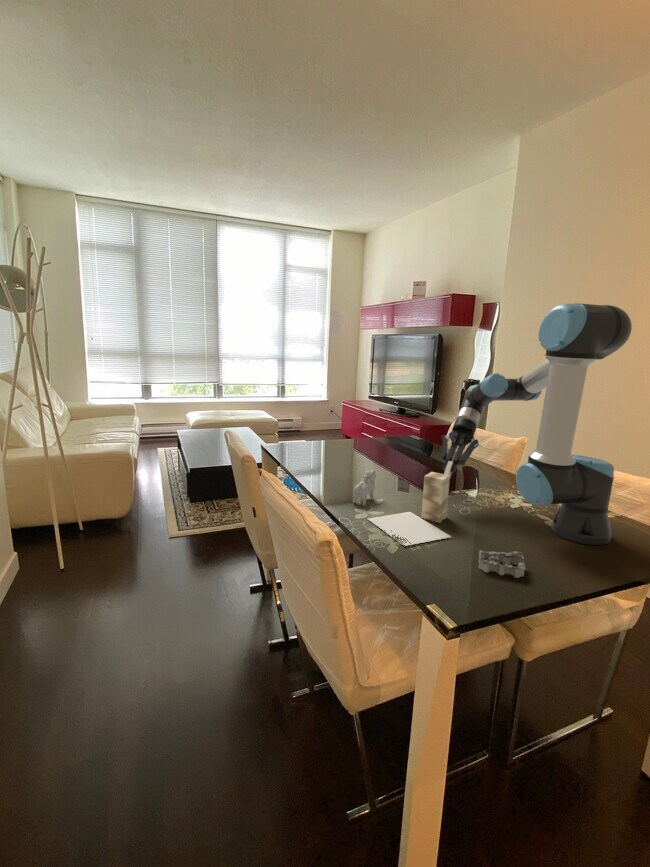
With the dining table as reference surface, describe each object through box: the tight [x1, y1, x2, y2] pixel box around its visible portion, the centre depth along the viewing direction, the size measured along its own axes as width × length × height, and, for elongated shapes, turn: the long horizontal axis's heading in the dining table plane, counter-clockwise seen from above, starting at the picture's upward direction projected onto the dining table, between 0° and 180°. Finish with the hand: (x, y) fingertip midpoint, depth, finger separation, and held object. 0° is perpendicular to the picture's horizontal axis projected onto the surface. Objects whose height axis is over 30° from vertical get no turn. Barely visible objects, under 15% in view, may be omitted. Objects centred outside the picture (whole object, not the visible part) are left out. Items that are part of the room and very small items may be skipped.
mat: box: [367, 511, 452, 546], centre depth 126 cm, size 20×16×1 cm
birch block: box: [420, 471, 451, 524], centre depth 134 cm, size 6×6×14 cm
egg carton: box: [478, 549, 526, 579], centre depth 104 cm, size 11×8×4 cm
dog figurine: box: [352, 468, 377, 506], centre depth 148 cm, size 5×13×11 cm, turn 151°
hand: (445, 479), depth 139 cm, fingers closed
